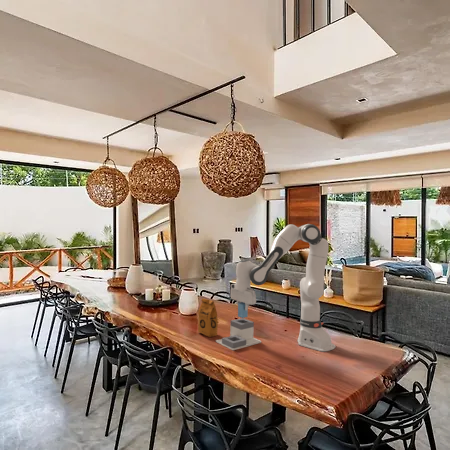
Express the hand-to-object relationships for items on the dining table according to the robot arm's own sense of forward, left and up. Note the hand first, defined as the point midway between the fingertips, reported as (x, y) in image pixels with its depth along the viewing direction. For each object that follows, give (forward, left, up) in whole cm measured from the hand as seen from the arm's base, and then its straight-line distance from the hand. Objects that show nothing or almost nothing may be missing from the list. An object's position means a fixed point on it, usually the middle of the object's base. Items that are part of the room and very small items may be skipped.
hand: (242, 309), depth 210 cm
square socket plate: (-3, +5, -19) cm, 19 cm away
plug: (0, 0, -5) cm, 5 cm away
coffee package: (+19, +12, -19) cm, 29 cm away
